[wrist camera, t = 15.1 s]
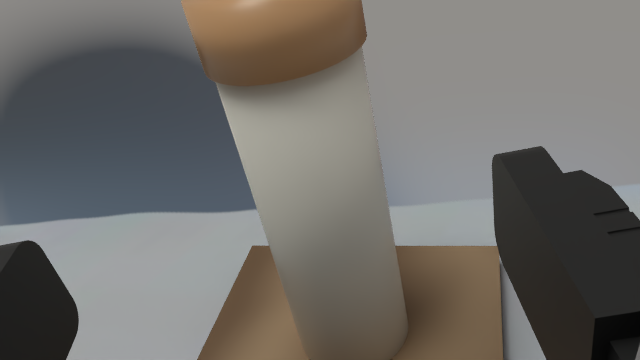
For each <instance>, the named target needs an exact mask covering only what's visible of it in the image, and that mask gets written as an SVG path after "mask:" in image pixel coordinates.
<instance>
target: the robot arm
mask: <svg viewBox="0 0 640 360" xmlns="http://www.w3.org/2000/svg"><path fill="white" fill-rule="evenodd" d="M492 178H493V204H494V228H495V237H496V242H497V247H498V251H499V254H500V258H501V260H502V263H503V265H504V268H505V270H506V272H507V274H508V276H509V279H510V281H511V283H512V285H513V287H514V290H515V292H516V294H517V296H518V298H519V301H520V303H521V305H522V307H523V309H524V311H525V314H526V316H527V318H528V320H529V322H530V325H531V327H532V329H533V331H534V333H535V335H536V338H537V340H538V342H539V344H540V346H541V349H542V351H543V353H544V355H545V357H546V360H640V220H639V219H638V218H637V217H636V215H635V214H634V213H633V212H630V211H629V207H628V206H627V205H626V204H625V202H624V201H623V200H622V199H621V198H620V197H619V195H618V194H617V193H616V192H615V191H614V189H613V188H612V187H611V186H610V185H608V184H606V183H604V182H602V181H601V180H599V179H597V178H595V177H593V176H592V175H590V174H588V173H586V172H584V171H582V170H579V171H574V172H568V173H562V171H561V170H560V168H559V167H558V166H557V164H556V163H555V162H554V160H553V159H552V158H551V156H550V155H549V154H548V152H547V151H546V150H545V149H544V148H543V147H541V146H539V147H533V148H528V149H523V150H518V151H512V152H507V153H502V154H496V155H494V157H493V160H492ZM78 321H79V319H78V311H77V307H76V304H75V302H74V300H73V298H72V296H71V295H70V293H69V292H68V290H67V288H66V287H65V285H64V284H63V282H62V280H61V279H60V277H59V276H58V274H57V272H56V271H55V269H54V267H53V266H52V264H51V263H50V261H49V259H48V258H47V256H46V255H45V253H44V251H43V250H42V249H41V247H40V246H39V245H38V244H37V243H35V242H33V241H29V240H28V241H22V242H17V243H11V244H6V245H0V360H66V358H67V356H68V353H69V351H70V349H71V346H72V344H73V342H74V339H75V337H76V334H77V331H78Z"/></svg>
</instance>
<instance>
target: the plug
mask: <svg viewBox="0 0 640 360" xmlns="http://www.w3.org/2000/svg"><path fill="white" fill-rule="evenodd" d="M181 1H182V6H183V9H184V12H185V15H186V18H187V21H188V24H189V27H190V30H191V33H192V36H193V39H194V42H195V45H196V48H197V51H198V54H199V57H200V60H201V63H202V66H203V69H204V72H205V74H206V76H207V77H208V78H209V79H211V80H212V81H214V82H216V85H217V89H218V91H219V95H220V98H221V101H222V104H223V107H224V110H225V112H226V116H227V119H228V122H229V125H230V128H231V131H232V134H233V137H234V140H235V143H236V146H237V149H238V152H239V155H240V158H241V161H242V164H243V167H244V170H245V173H246V177H247V180H248V183H249V186H250V189H251V192H252V195H253V198H254V200H255V204H256V207H257V210H258V213H259V216H260V219H261V222H262V225H263V228H264V231H265V234H266V237H267V240H268V243H269V246H270V250H271V253H272V256H273V259H274V262H275V265H276V268H277V271H278V274H279V277H280V280H281V283H282V286H283V289H284V292H285V295H286V298H287V301H288V304H289V307H290V310H291V313H292V316H293V319H294V322H295V325H296V329H297V332H298V335H299V338H300V341H301V344H302V347H303V349H304V351H305V353H306V355H307V356H308V358H309V359H310V360H390V359H391V358H393V357H394V356H395V355H396V354H397V353H398V351H399V350H400V349H401V347H402V346H403V344H404V342H405V339H406V337H407V333H408V319H407V313H406V307H405V301H404V295H403V289H402V283H401V277H400V272H399V266H398V260H397V254H396V248H395V242H394V236H393V230H392V224H391V218H390V212H389V206H388V200H387V194H386V188H385V182H384V177H383V170H382V164H381V158H380V152H379V146H378V140H377V134H376V128H375V122H374V116H373V110H372V105H371V99H370V93H369V86H368V80H367V74H366V69H365V62H364V57H363V51H362V45H363V43H364V42H365V40H366V37H367V34H366V33H367V32H366V26H365V20H364V13H363V7H362V1H361V0H181Z"/></svg>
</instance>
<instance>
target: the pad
mask: <svg viewBox="0 0 640 360" xmlns="http://www.w3.org/2000/svg"><path fill="white" fill-rule="evenodd" d="M395 248H396V254H397V260H398V266H399V272H400V277H401V283H402V289H403V295H404V301H405V307H406V313H407V319H408V333H407V337H406V339H405V342H404V344H403V346H402V347H401V349H400V350H399V351H398V353H397V354H396V355H395V356H394V357H393V358H391V359H390V360H503V341H502V315H501V289H500V263H499V251H498V247H497V246H395ZM197 360H310V359H309V358H308V356H307V355H306V353H305V351H304V349H303V347H302V344H301V341H300V338H299V335H298V332H297V329H296V325H295V322H294V319H293V316H292V313H291V310H290V307H289V304H288V301H287V298H286V295H285V292H284V289H283V286H282V283H281V280H280V277H279V274H278V271H277V268H276V265H275V262H274V259H273V256H272V253H271V250H270V246H252V248H251V250H250V252H249V254H248V256H247V258H246V260H245V262H244V264H243V266H242V268H241V270H240V272H239V274H238V276H237V279H236V281H235V283H234V285H233V287H232V289H231V291H230V293H229V295H228V297H227V299H226V301H225V303H224V305H223V307H222V309H221V312H220V314H219V316H218V318H217V320H216V322H215V324H214V326H213V328H212V330H211V332H210V334H209V336H208V338H207V340H206V342H205V345H204V347H203V349H202V351H201V353H200V355H199V357H198V359H197Z"/></svg>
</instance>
